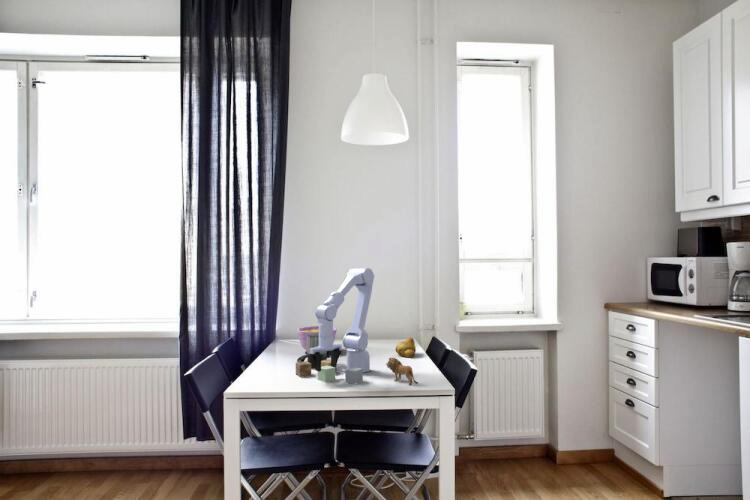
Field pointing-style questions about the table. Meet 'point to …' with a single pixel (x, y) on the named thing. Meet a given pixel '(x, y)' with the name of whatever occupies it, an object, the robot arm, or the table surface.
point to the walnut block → (303, 369)
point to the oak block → (327, 363)
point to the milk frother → (311, 343)
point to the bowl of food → (305, 330)
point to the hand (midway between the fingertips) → (326, 369)
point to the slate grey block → (354, 375)
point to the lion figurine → (400, 370)
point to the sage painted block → (326, 373)
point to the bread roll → (406, 348)
